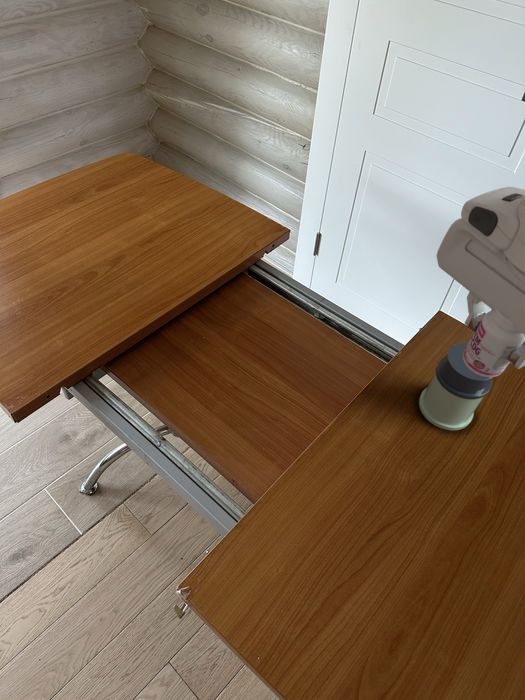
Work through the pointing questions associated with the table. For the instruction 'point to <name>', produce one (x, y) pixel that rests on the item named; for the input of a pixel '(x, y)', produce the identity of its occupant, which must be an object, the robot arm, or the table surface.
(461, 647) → the table surface
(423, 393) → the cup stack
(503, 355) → the pill bottle
